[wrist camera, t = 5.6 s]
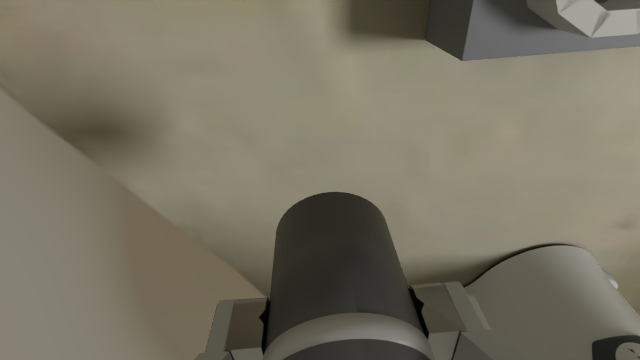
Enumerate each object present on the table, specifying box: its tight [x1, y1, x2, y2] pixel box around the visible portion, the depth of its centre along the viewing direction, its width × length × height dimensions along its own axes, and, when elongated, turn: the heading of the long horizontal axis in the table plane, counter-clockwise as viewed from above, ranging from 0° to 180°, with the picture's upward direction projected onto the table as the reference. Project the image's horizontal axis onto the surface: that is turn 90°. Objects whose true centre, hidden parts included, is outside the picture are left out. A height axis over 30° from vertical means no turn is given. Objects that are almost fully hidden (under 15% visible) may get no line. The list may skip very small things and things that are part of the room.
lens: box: [262, 192, 435, 360], centre depth 10 cm, size 4×4×7 cm
